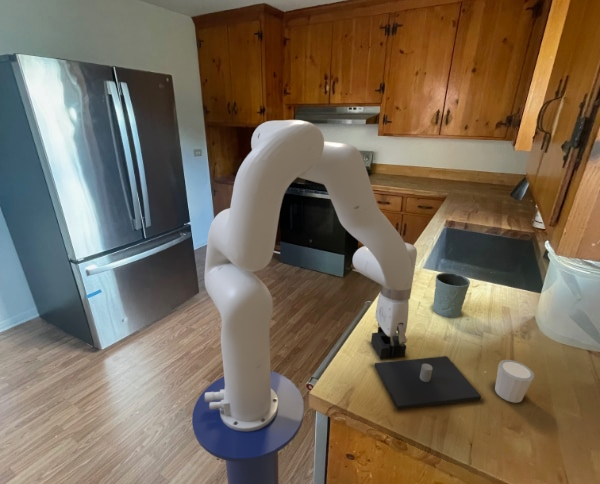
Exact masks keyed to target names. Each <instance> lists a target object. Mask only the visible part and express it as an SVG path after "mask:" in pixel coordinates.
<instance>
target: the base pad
mask: <svg viewBox="0 0 600 484" xmlns="http://www.w3.org/2000/svg"><path fill="white" fill-rule="evenodd" d="M374 368H375V371H376V373H377V374H378V376H379V378H380V380H381V382H382V384H383V386H384V387H385V390H386V391H387V393H388V395H389V397H390V399H391V401H392V402H393V404H394V406H395V408H396V410H397V411H400V410H409V409H416V408H418V409H419V408H424V407H425V408H426V407H435V406H444V405H451V404H459V403H468V402H476V401H481V399H482V395H481V394H480V393H479V392H478V390H477V389H476V388H475V386H474V385H473V384H471V382H470V381H469V380H468V378H466V377H465V376H464V374H463V373H462V372H461V371H460V370H459V368H458V367H457V366H456V365H455V363H453V362H452V360H451V359H450V358H449V357H448V355H446V356H445V355H443V356H436V357H434V356H433V357H423V358H412V359H402V360H401V359H400V360H393V361H381V362H375V363H374Z"/></svg>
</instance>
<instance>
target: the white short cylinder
mask: <svg viewBox="0 0 600 484" xmlns="http://www.w3.org/2000/svg"><path fill="white" fill-rule="evenodd" d="M534 378H535V374H534V372H533V371H532V369H531V368H530V367H529V366H527V365H525V364H524V363H522V362H519V361H517V360H512V359H503V360H501V361H499V363H498V367H497V374H496V378H495V379H496V380H495V386H494V390H495V393H496V394H497V396H498V397H500V398H501V399H503V400H505V401H507V402H510V403H513V404H515V403H521V402H522V401H523V399H524V397H525V395H526V394H527V392H528V389H529V388H530V387H531V384H532V383H533V380H534Z"/></svg>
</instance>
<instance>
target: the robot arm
mask: <svg viewBox="0 0 600 484" xmlns="http://www.w3.org/2000/svg"><path fill="white" fill-rule="evenodd" d="M250 145H251V146H250V147H251V151H250V152H249V153H248V154H247V155H246V157H245V158H244V159H243V161H242V163H241V165H240V166H239V168H238V171H237V173H236V176H235V179H234V182H233V183H234V184H233V189H232V195H231V201H230V207H229V208H226V209H223V210H222V211H220V212H219V213H217V215H216V216H214V219H213V220H212V222H211V224H210V226H209V229H208V234H207V241H206V253H205V263H204V288H205V290H206V293H207V294H208V296H209V298H210V299H211V301H212V302H213V304H214V306H215V307H216V309H217V310H218V312H219V315H220V319H221V331H220V348H221V349H220V350H221V356H222V367H223V377H224V380H225V389H222V390H220V392H206V393H205V402H210V405H209V408H210V409H216V408H220V416H221V419H222V421H223V422H224V423H225V424H226V425H227V426H228V427H230V428H232V429H234V430H237V431H246V432H247V431H254V430H257V429H260V428H262V427H264V426H266V425H267V424H269V423H270V422H271V421H272V420H273V418H274V417H275V416H276V413H277V411H278V397H277V395H276V393H275V392H274V391H273V390H272V389H271V375H270V371H271V346H270V345H271V343H270V342H271V341H270V340H271V339H270V338H271V337H270V333H271V321H272V317H273V311H274V310H273V309H274V301H273V297H272V294H271V292H270V290H269V288H268V287H267V286H266V285H265V283H264V282H263V281H262V280H261V279H260V278H259V277H258V275H256V274H255V273H254V272H260V271H262V270H263V269H265V268H266V267H267V266H268V265H269V264H270V262H271V261H272V258H273V256H274V252H275V246H276V240H277V233H278V225H279V219H280V215H281V213H280V212H281V208H282V204H283V200H284V196H285V194H286V192H287V191H288V188H289V187H290V185H291V184H292V183H293V182H294V181H295V180H296V179H297V178H300V179H302V180H307V181H310V182H313V183H317V184H319V185H323V186H324V187H325V189H326V191H327V194H328V196H329V198H330V201H331V203H332V207H333V209H334V211H335V213H336V216H337V218H338V221H339V223H340V224H341V226H342V227H343V228H344V229H345V231H347V233H349V234H350V235H351V236H352V237H353V238H355V240H357V241H358V242H360V244H361V245H363V246H361V247H359V248H358V249H356V250H355V252H354V253H353V256H352V265H353V267H354V269H355V270H356V271H357V272H358V273H359V274H361V275H362V276H364V277H365V278H368V279H370V280H371V281H373V282H375V283H377V284H379V285H380V290H379V294H378V298H377V303H376V308H375V315H374V316H375V317H374V318H375V320H376V322H377V326H378V327H377V331H376V333H378V332H385V334H386V335H387V336H389V337H390V340H391V344H389V349H388V357H389V358H388V359H391V358H390V357H399V356H400V351H401V346H402V345H404V344H405V345H406V343H407V336H406V332H407V329H408V323H409V321H408V319H409V307H410V306H409V305H410V304H409V302H410V301H409V300H411V294H412V289H413V282H414V276H415V269H416V263H417V257H418V250H417V248H416V247H415V246H414V244H411V243H408V242H405V241H404V239H403V237H402V236H401V235H400V233H399V231H398V230H397V229H396V228H395V227H394V225H393V224H392V222H391V221H390V220H389V219H388V218H387V216H386V215H385V214H384V213H383V212H382V211H381V210H380V207H379V205H378V202H377V199H376V196H375V192H374V189H373V186H372V183H371V180H370V177H369V173H368V170H367V167H366V164H365V161H364V158H363V155H362V154H361V152H360V151H359V149H358V148H357V147H356V146H354V145H352V144H349V143H344V142H338V141H337V142H335V141H326V140H325V138H324V134H323V132H322V131H321V129H320V128H319V127H318V126H317V125H315V124H314V123H312V122H310V121H306V120H302V119H301V120H300V119H285V120H268V121H265V122H263V123H261V124H259V125H258V126H257V127H256V128H255V130H254V132H253V133H252V136H251V141H250ZM396 332H397V333H396ZM394 336H398V340H396V341H394ZM399 358H400V357H399ZM216 400H220V402H212V401H216Z"/></svg>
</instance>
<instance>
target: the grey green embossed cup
mask: <svg viewBox="0 0 600 484" xmlns="http://www.w3.org/2000/svg"><path fill="white" fill-rule="evenodd" d="M470 285H471V281H470V280H469V278H467V277H466V276H464V275H462V274H460V273H459V274H458V273H456V272H441V273H438V274H436V276H435V288H434V294H433V295H434V296H433V304H432V310H433V311H434V312H435V313H436V314H438V315H439V316H442V317H445V318H457V317H459V316H460V315H461V312H462V309H463V306H464V303H465V300H466V296H467V293H468V290H469V288H470Z"/></svg>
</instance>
